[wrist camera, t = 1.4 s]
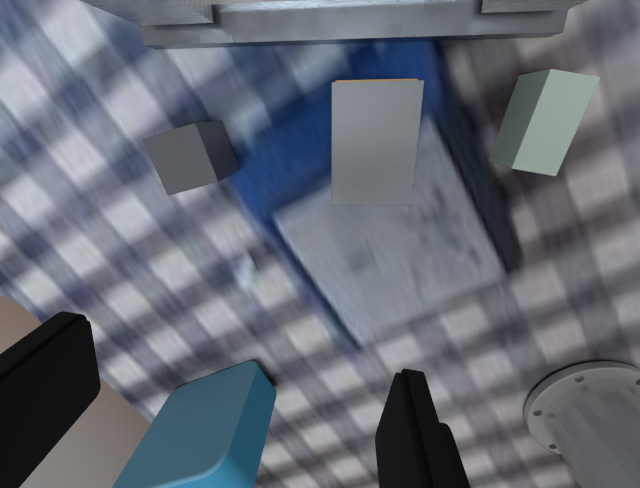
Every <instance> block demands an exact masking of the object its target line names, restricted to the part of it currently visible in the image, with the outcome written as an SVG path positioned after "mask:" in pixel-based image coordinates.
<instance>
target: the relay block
mask: <svg viewBox="0 0 640 488" xmlns="http://www.w3.org/2000/svg"><path fill="white" fill-rule="evenodd" d="M143 142H144V144H145V146H146V149H147V151H148V153H149V155H150V157H151V160H152V162H153V164H154V166H155V168H156V170H157V173H158V175H159V177H160V179H161V181H162V183H163V186H164V188H165V190H166V192H167V194H168V196H169V195H172V194H176V193H179V192H183V191H186V190H190V189H194V188H197V187H201V186H204V185H208V184H211V183H215V182H218V181H220V180H222V179H224V178H226V177H227V176H229V175H231V174H233V173H235V172H237V171H238V170H240V168H239V165H238V163H237V160H236V157H235V155H234V152H233V149H232V146H231V144H230V141H229V138H228V135H227V133H226V130H225V127H224V125H223V122H222V121H211V122H198V123H193V124H190V125H186V126H183V127H180V128H177V129H174V130H171V131H168V132H165V133H162V134H159V135H155V136H152V137H149V138H146V139H143Z"/></svg>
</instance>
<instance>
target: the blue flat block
mask: <svg viewBox="0 0 640 488" xmlns="http://www.w3.org/2000/svg"><path fill="white" fill-rule="evenodd" d="M275 399H276V390H275V389H274V387H273V386H272V384H271V383H270V382H269V380H268V379H267V377H266V376H265V374H264V373H263V372H262V370H261V369H260V367H259V366H258V365H257V363H256V362H254V361H248V362H245V363H242V364H240V365H237V366H234V367H231V368H229V369H226V370H223V371H220V372H218V373H215V374H212V375H209V376H207V377H204V378H201V379H198V380H196V381H193V382H190V383H187V384H185V385H182V386H180V387H179V388H177V389H176V390H175V391H174V392H173V393H172V394H171V395H170V396H169V397H168V398H167V400H166V402H165V403H164V405H163V406H162V408H161V410H160V411H159V413H158V414H157V416H156V418H155V419H154V421H153V422H152V424H151V426H150V428H149V429H148V430H147V432H146V434H145V435H144V437H143V438H142V440H141V442H140V443H139V445H138V447H137V448H136V450H135V451H134V453H133V454H132V456H131V458H130V459H129V461H128V463H127V464H126V466H125V467H124V469H123V470H122V472H121V474H120V475H119V477H118V479H117V480H116V482H115V483H114V485H113V487H112V488H253V487H254V484H255V480H256V476H257V472H258V468H259V464H260V460H261V456H262V452H263V448H264V444H265V440H266V436H267V431H268V427H269V423H270V419H271V415H272V411H273V407H274V403H275Z"/></svg>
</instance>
